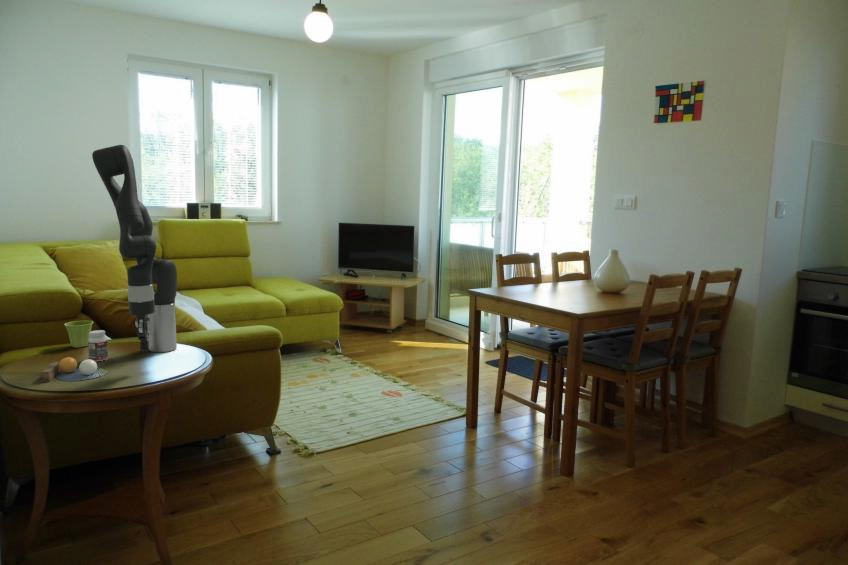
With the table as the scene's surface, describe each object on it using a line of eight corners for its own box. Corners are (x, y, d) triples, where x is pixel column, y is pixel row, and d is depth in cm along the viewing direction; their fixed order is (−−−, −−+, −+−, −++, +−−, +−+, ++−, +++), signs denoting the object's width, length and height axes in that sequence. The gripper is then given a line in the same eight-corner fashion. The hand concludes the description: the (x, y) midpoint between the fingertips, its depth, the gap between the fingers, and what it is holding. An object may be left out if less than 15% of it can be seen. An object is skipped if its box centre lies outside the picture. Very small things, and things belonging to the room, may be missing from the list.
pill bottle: (100, 362, 207) (98, 334, 206) (85, 361, 208) (83, 333, 207) (111, 358, 213) (110, 330, 212) (97, 357, 214) (95, 329, 213)
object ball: (66, 374, 198) (59, 360, 197) (82, 367, 199) (75, 353, 198) (60, 376, 193) (54, 362, 192) (77, 370, 194) (70, 355, 193)
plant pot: (61, 349, 223) (60, 326, 222) (71, 343, 232) (69, 320, 231) (90, 348, 225) (88, 325, 224) (98, 342, 234) (96, 320, 233)
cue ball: (91, 373, 197) (78, 363, 195) (102, 363, 197) (89, 353, 194) (87, 381, 192) (73, 371, 190) (98, 370, 192) (84, 361, 190)
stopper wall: (54, 370, 197) (53, 361, 197) (61, 370, 198) (60, 361, 198) (42, 381, 186) (41, 372, 186) (49, 381, 187) (48, 371, 186)
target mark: (64, 369, 199) (63, 368, 199) (111, 367, 203) (111, 366, 203) (50, 382, 186) (50, 381, 186) (101, 379, 189) (101, 379, 189)
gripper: (131, 295, 201) (134, 347, 203) (125, 303, 188) (128, 358, 191) (156, 294, 203) (159, 345, 206) (151, 302, 190) (155, 356, 193)
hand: (144, 351), depth 198 cm, fingers closed
